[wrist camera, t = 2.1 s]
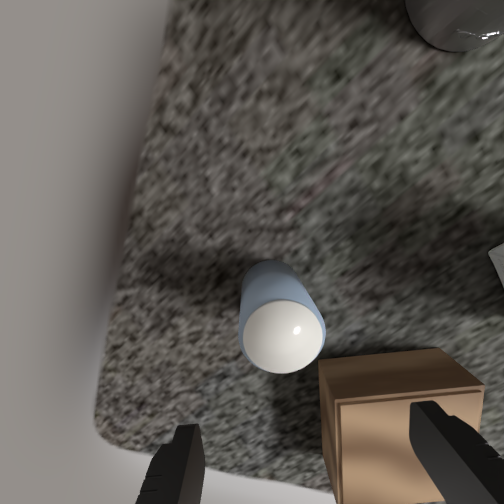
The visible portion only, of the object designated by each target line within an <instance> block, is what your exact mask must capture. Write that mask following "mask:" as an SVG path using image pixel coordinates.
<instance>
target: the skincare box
mask: <svg viewBox="0 0 504 504" xmlns="http://www.w3.org/2000/svg"><path fill="white" fill-rule="evenodd" d="M488 255H489V257H490V258H491V260H492V262H493V264H494V266H495V268H496V270H497V273H498V275H499V278H500V280H501V282H502V285H503V288H504V243H503V244H501V245H499V246H497V247H496V248H494V249H492V250H490V251H489V252H488Z"/></svg>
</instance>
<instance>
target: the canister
mask: <svg viewBox="0 0 504 504" xmlns="http://www.w3.org/2000/svg"><path fill="white" fill-rule="evenodd" d="M325 333H326V330H325V324H324V321H323V318H322V316H321V314H320V313H319V311H318V309H317V307H316V306H315V304H314V302H313V301H312V299H311V297H310V296H309V294H308V292H307V291H306V289H305V287H304V286H303V284H302V282H301V280H300V279H299V277H298V275H297V274H296V272H295V271H294V270H293V269H292V268H291V267H290V266H289V265H288V264H286V263H284V262H281V261H277V260H266V261H262V262H259V263H257V264H255V265H254V266H253V267H251V268H250V269H249V270H248V272H247V273H246V275H245V276H244V279H243V282H242V291H241V304H240V318H239V332H238V338H239V344H240V347H241V350H242V352H243V354H244V355H245V356H246V358H247V359H248V360H249V361H250V362H251V363H252V364H254V365H255V366H257V367H258V368H260V369H262V370H265V371H268V372H273V373H290V372H294V371H297V370H300V369H302V368H303V367H305V366H307V365H308V364H309V363H311V362H312V361H313V360H314V359H315V358H316V357H317V356H318V354H319V353H320V351H321V349H322V347H323V344H324V341H325Z"/></svg>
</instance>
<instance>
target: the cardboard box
mask: <svg viewBox="0 0 504 504" xmlns="http://www.w3.org/2000/svg"><path fill="white" fill-rule="evenodd" d="M318 370H319V390H320V410H321V430H322V450H323V458H324V461H325V465H326V468H327V472H328V475H329V479H330V483H331V486H332V490H333V493H334V496H335V500H336V503H337V504H414V503H425V502H436V501H445V500H444V498H443V496H442V495H441V493H440V492H439V490H438V489H437V487H436V486H435V484H434V483H433V481H432V480H431V478H430V476H429V475H428V473H427V472H426V470H425V469H424V467H423V466H422V464H421V463H420V461H419V459H418V458H417V456H416V455H415V453H414V451H413V448H412V446H411V443H410V439H409V416H410V404H411V403H412V402H419V401H429V400H433V401H435V402H437V403H438V404H439V405H440V407H441V408H442V409H443V410H444V411H445V412H446V413H447V414H448V415H449V416H451V415H455V416H457V417H458V418H460V419H461V420H463V421H464V422H466V423H467V424H469V425H470V426H472V427H473V428H474V429H475V430H476V431H477V432H478V433H479V429H480V421H481V413H482V405H483V397H484V389H485V385H484V384H483V383H482V382H481V381H479V380H478V379H477V378H476V377H474V376H473V375H472V374H471V373H470V372H468V371H467V370H466V369H465V368H463V367H462V366H461V365H460V364H458V363H457V362H456V361H455V360H454V359H452V358H451V357H450V356H449V355H447V354H446V353H445V352H444V351H442V350H441V349H440V348H433V349H422V350H412V351H402V352H392V353H382V354H372V355H361V356H351V357H341V358H331V359H321V360H318Z"/></svg>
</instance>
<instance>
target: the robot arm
mask: <svg viewBox="0 0 504 504" xmlns="http://www.w3.org/2000/svg"><path fill="white" fill-rule="evenodd" d="M405 4H406V9H407V12H408V14H409V17H410V20H411V22H412V24H413V26H414V27H415V29H416V30H417V32H418V33H419V34H420V35H421V36H422V37H423V38H424V39H425V40H426V41H427V42H428V43H430V44H432V45H433V46H435V47H437V48H439V49H442V50H446V51H450V52H464V51H468V50H473V49H476V48H478V47H481V46H483V45H485V44H487V43H489V42H491V41H492V40H494V39H495V38H497V37H499V36H500V35H502V34H504V0H405ZM409 439H410V443H411V446H412V448H413V451H414V453H415V455H416V456H417V458H418V459H419V461H420V463H421V464H422V466H423V467H424V469H425V470H426V472H427V473H428V475H429V476H430V478H431V480H432V481H433V483H434V484H435V486H436V487H437V489H438V490H439V492H440V493H441V495H442V496H443V498H444V500H445V501H446V503H447V504H504V459H502V458H501V456H500V455H499V454H498V453H497V452H496V451H495V450H494V449H493V448H492V446H489V445H488V442H487V441H486V440H485V439H484V438H483V437H482V436H481V435H480V434H479V433H478V432H477V431H476V430H475V429H474V428H473V427H472V426H470V425H469V424H467V423H466V422H464V421H463V420H461V419H460V418H458V417H457V416H455V415H451V416H449V415H448V414H447V413H446V412H445V411H444V410H443V409H442V408H441V407H440V405H439V404H438V403H437V402H435V401H433V400H429V401H419V402H412V403H411V404H410V416H409ZM204 474H205V455H204V449H203V444H202V438H201V433H200V427H199V424H188V425H179V426H178V427H177V428H176V431H175V434H174V438H173V441H172V443H169V444H162V446H161V447H160V448H159V450H158V451H157V453H156V454H155V455H154V457H153V458H152V460H151V462H150V465H149V468H148V471H147V473H146V476H145V480H144V482H143V484H142V487H141V490H140V495H138V498H137V501H136V503H135V504H200V500H201V494H202V487H203V480H204Z"/></svg>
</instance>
